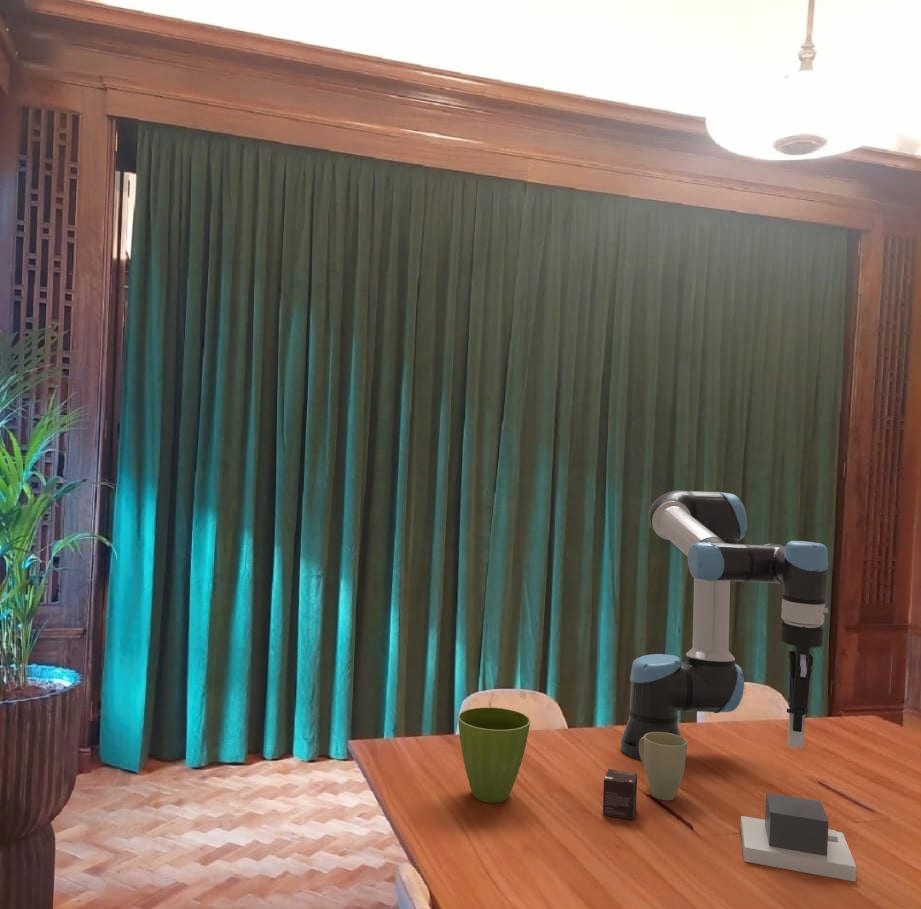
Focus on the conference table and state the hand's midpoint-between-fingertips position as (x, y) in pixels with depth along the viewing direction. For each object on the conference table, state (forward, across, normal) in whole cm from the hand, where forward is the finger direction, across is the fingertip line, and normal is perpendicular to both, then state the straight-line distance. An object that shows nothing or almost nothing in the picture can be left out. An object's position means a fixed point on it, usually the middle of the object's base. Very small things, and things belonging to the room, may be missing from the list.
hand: (795, 746), depth 152 cm
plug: (+17, -7, 0) cm, 18 cm away
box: (+18, -3, +32) cm, 37 cm away
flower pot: (+18, -6, +58) cm, 61 cm away
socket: (+17, -7, 0) cm, 19 cm away
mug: (+18, +10, +25) cm, 33 cm away
